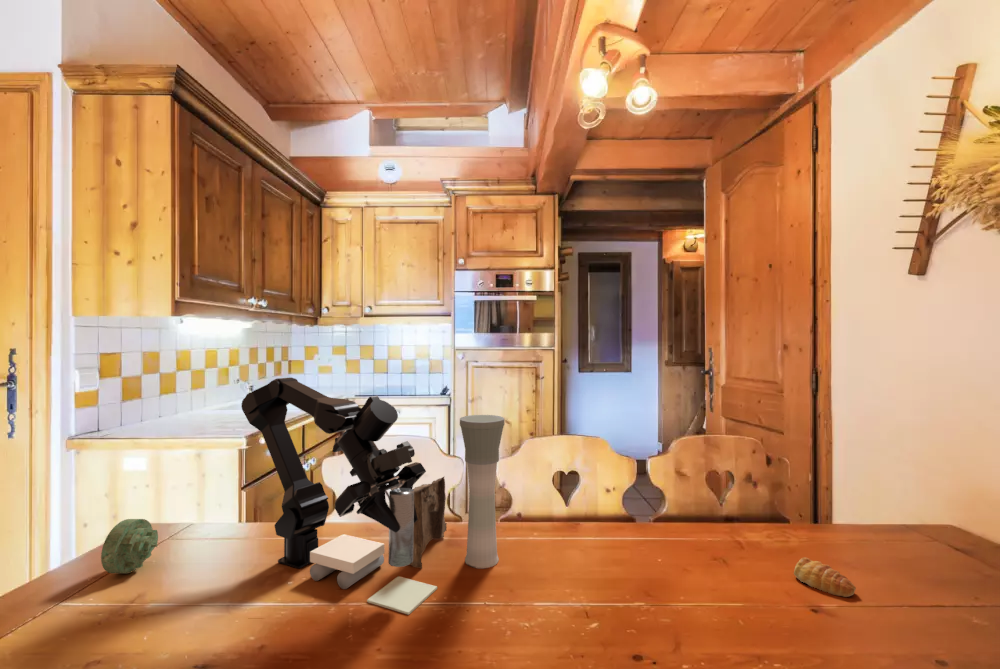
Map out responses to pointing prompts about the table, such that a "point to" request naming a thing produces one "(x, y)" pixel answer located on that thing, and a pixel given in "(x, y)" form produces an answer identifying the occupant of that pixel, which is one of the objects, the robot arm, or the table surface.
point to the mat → (402, 595)
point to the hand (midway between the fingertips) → (407, 526)
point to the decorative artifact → (128, 546)
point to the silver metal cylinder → (401, 527)
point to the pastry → (823, 577)
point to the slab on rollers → (346, 559)
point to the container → (481, 486)
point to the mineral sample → (428, 516)
